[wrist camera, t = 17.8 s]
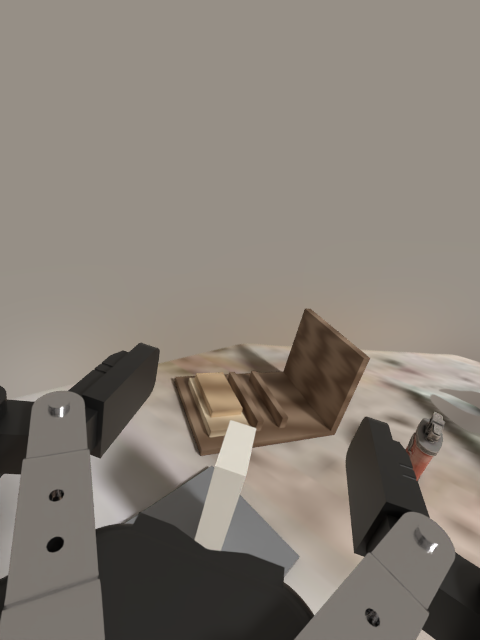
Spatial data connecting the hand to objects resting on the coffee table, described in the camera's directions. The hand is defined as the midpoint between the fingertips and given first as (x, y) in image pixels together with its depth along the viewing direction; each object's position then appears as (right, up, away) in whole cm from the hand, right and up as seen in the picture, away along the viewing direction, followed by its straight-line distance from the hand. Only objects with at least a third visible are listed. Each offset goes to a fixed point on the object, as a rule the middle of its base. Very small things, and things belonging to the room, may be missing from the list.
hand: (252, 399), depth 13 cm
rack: (+2, -12, +43) cm, 45 cm away
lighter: (+25, -20, +39) cm, 50 cm away
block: (-4, -20, +21) cm, 30 cm away
